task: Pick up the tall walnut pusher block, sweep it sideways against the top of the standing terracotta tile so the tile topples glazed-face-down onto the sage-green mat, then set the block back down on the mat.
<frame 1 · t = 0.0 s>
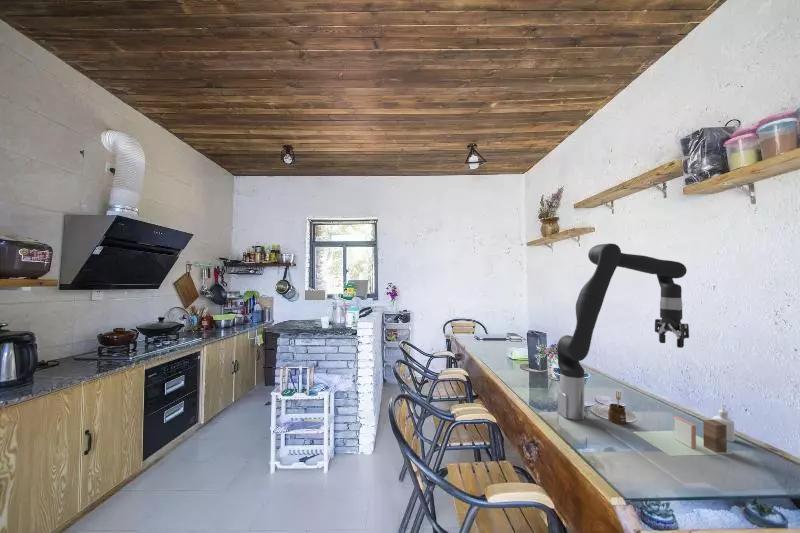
hand: (671, 345, 143), 29 cm above the counter, fingers open, 8 cm apart
block: (714, 449, 111), point 1 cm above the counter, touching mat
utensil holder: (617, 423, 132), on the counter
tile: (684, 443, 115), point 1 cm above the counter, touching mat
mat: (679, 445, 116), on the counter
eye dropper bottle: (723, 441, 119), on the counter
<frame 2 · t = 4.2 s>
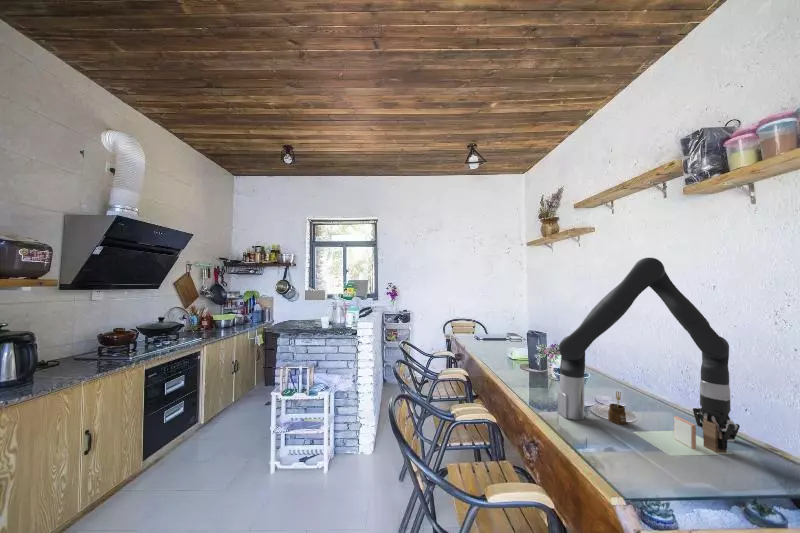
hand: (715, 445, 111), 2 cm above the counter, fingers closed on block, 4 cm apart
block: (714, 449, 111), point 1 cm above the counter, touching gripper, mat
everything else where it was.
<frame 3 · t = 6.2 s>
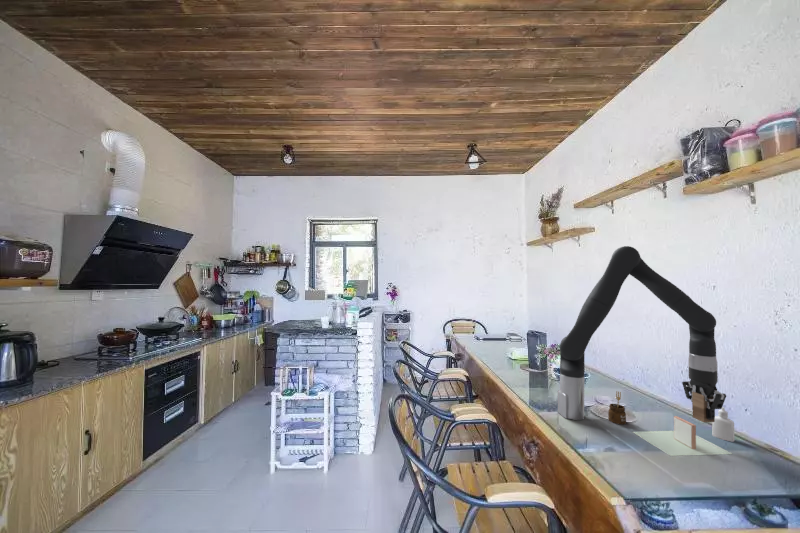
hand: (703, 416, 115), 10 cm above the counter, fingers closed on block, 4 cm apart
block: (703, 419, 115), point 9 cm above the counter, touching gripper
everything else where it was.
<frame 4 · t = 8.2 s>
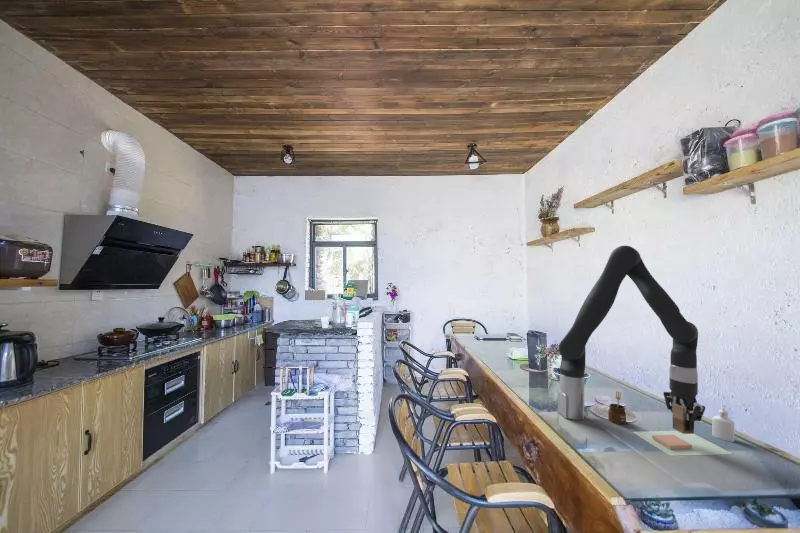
hand: (683, 427, 115), 7 cm above the counter, fingers closed on block, 4 cm apart
block: (683, 430, 115), point 5 cm above the counter, touching gripper
tile: (682, 441, 115), point 2 cm above the counter, tilted 90°, touching mat
everything else where it was.
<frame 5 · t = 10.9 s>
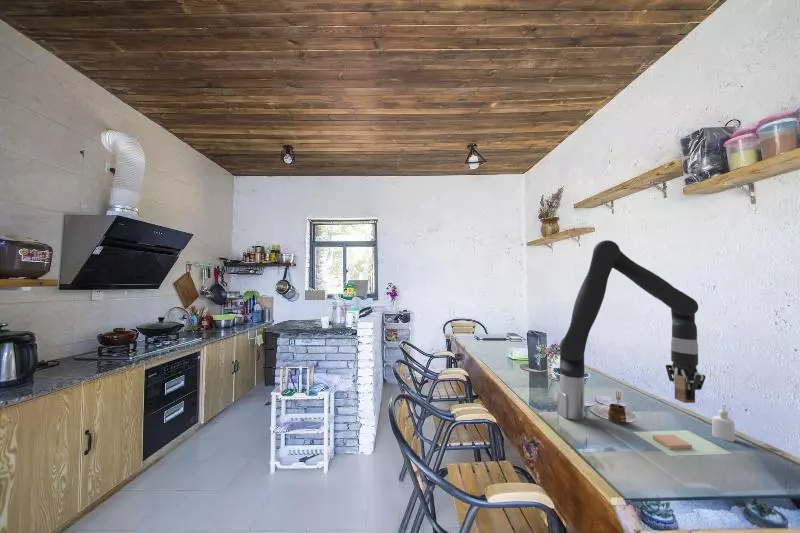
hand: (684, 397, 120), 15 cm above the counter, fingers closed on block, 4 cm apart
block: (684, 400, 120), point 14 cm above the counter, touching gripper
everything else where it was.
when the fingers open (4 cm above the counter, at t = 13.0 s): block drops 1 cm, resting on mat.
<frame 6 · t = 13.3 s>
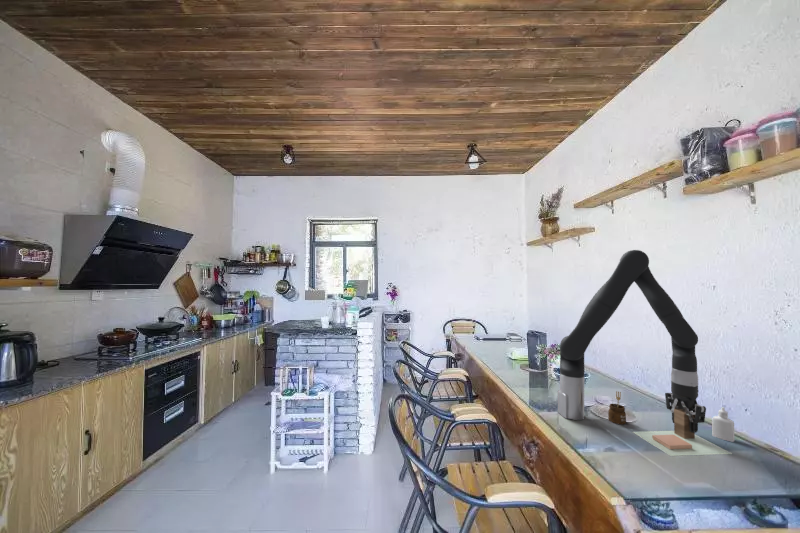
hand: (684, 427, 120), 4 cm above the counter, fingers open, 6 cm apart
block: (684, 435, 120), point 1 cm above the counter, touching mat
everything else where it was.
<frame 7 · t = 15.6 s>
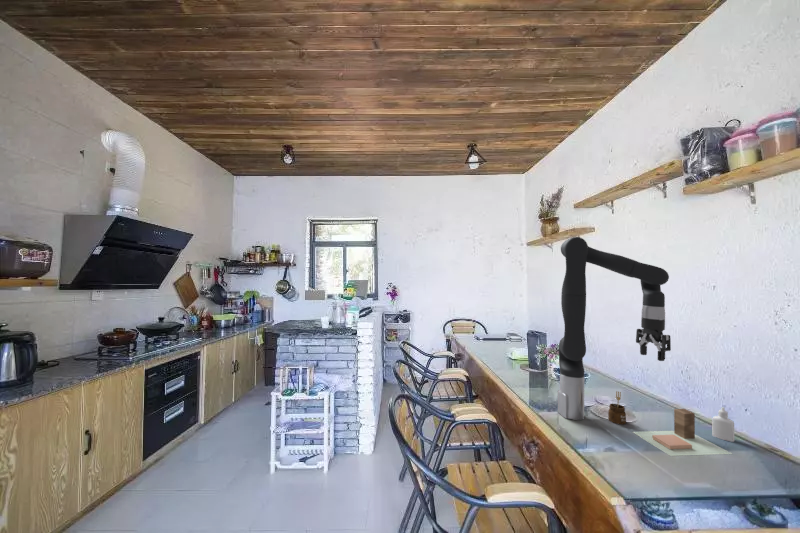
hand: (652, 357, 132), 27 cm above the counter, fingers open, 8 cm apart
nothing on the counter moved.
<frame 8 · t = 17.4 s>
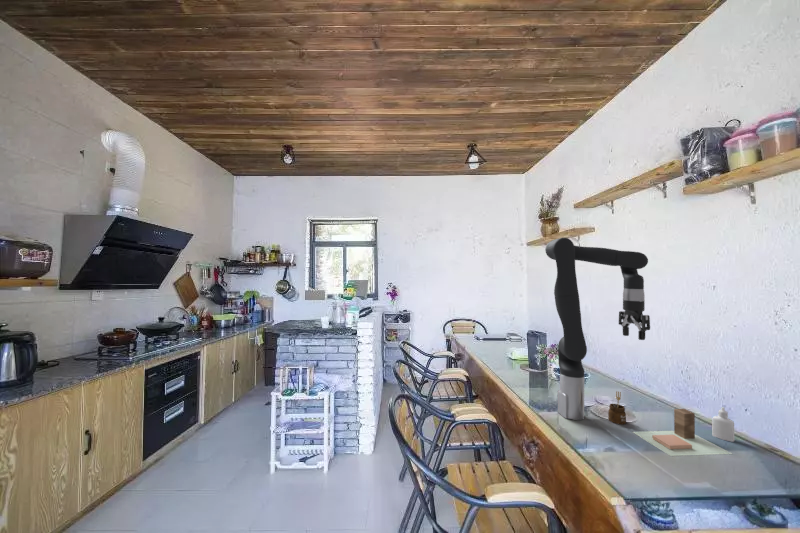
hand: (633, 337, 139), 33 cm above the counter, fingers open, 8 cm apart
nothing on the counter moved.
at the end: tile tilted 90°; tile inside the target area (1.0 cm from its centre), point 1.8 cm above the counter; the gripper is holding nothing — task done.
